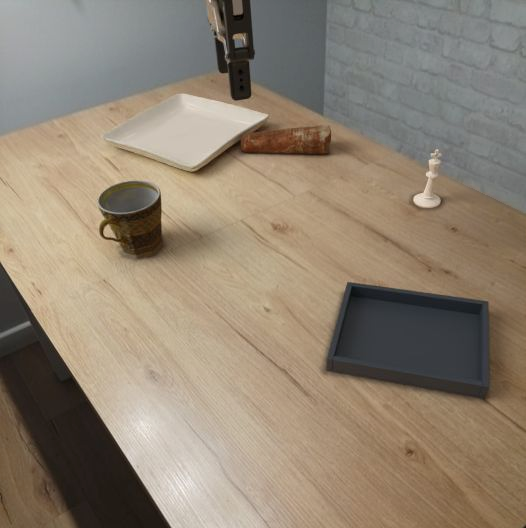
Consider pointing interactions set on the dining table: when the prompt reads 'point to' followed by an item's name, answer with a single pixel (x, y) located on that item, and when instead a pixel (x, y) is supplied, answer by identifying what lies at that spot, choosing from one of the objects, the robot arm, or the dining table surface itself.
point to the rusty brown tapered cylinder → (288, 140)
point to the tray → (412, 339)
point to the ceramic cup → (133, 217)
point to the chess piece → (430, 185)
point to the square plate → (185, 130)
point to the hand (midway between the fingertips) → (234, 84)
